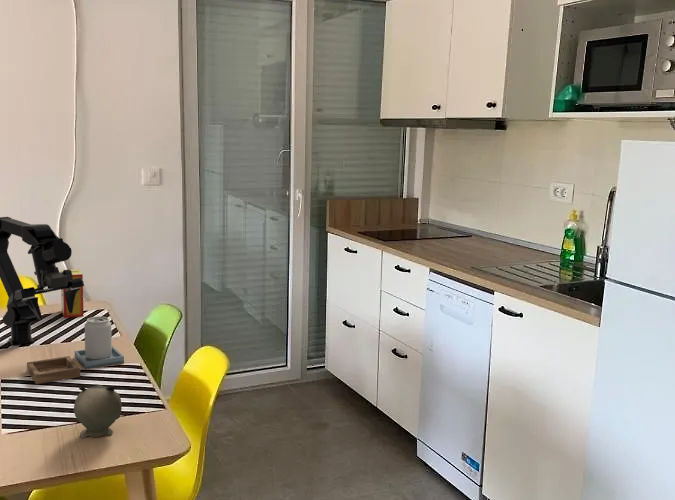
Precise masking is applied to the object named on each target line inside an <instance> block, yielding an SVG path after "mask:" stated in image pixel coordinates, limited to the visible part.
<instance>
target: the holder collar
mask: <svg viewBox="0 0 675 500" xmlns="http://www.w3.org/2000/svg"><path fill="white" fill-rule="evenodd" d="M63 367H66V368H65V369H64V368H63ZM55 368H56V369H58V368H63V369H59V370H51V371H46V372H41V373H40V372H39V371H44V370H50V369H55ZM26 371H27V373H28V374H29V376H30V377H31V378H32V380H33V381H34V383H35V385H40V384H47V383H53V382H57V381H58V380H59V381H63V379H65V380H70V379H74V378H80V377H81V368H80V366H79V365H78V364H77V363H76V362H75V361H74V359H73V358H71V356H70V355H68V356H62V357H61V356H60V357H54V358H47V359H42V360H41V359H40V360H35V361H28V362H26ZM52 381H53V382H52Z"/></svg>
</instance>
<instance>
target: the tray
mask: <svg viewBox="0 0 675 500" xmlns="http://www.w3.org/2000/svg"><path fill="white" fill-rule="evenodd" d="M74 359H75V360H76V361H77V362H78V363H79V364H80V366H82V367H83V369H84V370H89V369H95V368H100V367H107V366H113V365H119V364H124V363H125V356H124V355H123V354H122V353H121V352H120V351H119V350H118V349H116V348H115V347H114V345H112V355H111V356H110V357H109V358H106V359H100V360H94V361H92V360H89V359H88V358H87V357H86V356H85V349H79V350H74Z"/></svg>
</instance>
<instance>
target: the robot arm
mask: <svg viewBox="0 0 675 500" xmlns="http://www.w3.org/2000/svg"><path fill="white" fill-rule="evenodd" d="M12 235H13V236H17V237H19V238H21V240H22V241H23V243H24V244H26V245H28V246H30V248H29V249H28V251H27V255H31V257H32V260H33V261H32V262H33V266H34V269H35V271H34V273H33V274H34V275H35V276H36V278H37V285H36V288H35V287H34V286H32V287H31V286H30V287H27V288H25V287H24V286H23V284H22V282H21V279H20V277H19V275H18V273H17V271H16V268H15V266H14V264H13V261H12V259H11V257H10V255H9V252H8V249H9V246H10V245H9V244H10V242H9V239H10V238H11V236H12ZM71 256H72V248H71V246H70V245H69V244H68V243H67V242H65V241H64V239H63V238H62V237H60V238H59V236H58V235H57V234H56V233H55V231H54V230H53V229H52V228H51V226H50V225H49V224H47V223H38V224H37V223H36V224H35V223H34V224H33V223H32V224H31V223H27V222H24V221H21V220H18V219H14V218H12V217H9V216H0V281H1V284H2V286H3V287H4V289H5V293H6V295H7V297H8V298H7V302H6V308H7V311H6V312H5V314H4V315H3V317H2V321H3V325H6V326H8V327H10V333H11V334H10V338H8V342H9V343H10V344H11V346H18V345H25V344H26V345H27V344H33V343H35V340H34V339H33V337H32V324H31V323H35V322H38V320H39V321H43V316H42V312H41V309H40V306H39V297H38V296H36V295H41V294H44V293H45V294H46V293H50V292H54V291H59V290H60V291H61V289H66V291H65V292H64V294H65V298H66V303H67V307H68V310H69V313H70V314H71V313H72V312H73V305H74V299H75V295H76V293H77V291H78V290H80V289H81V288H79V289H78V287H82V286H83V287H84V286H85V283H84V279H83V280H82V279H81V278H77V279H73V276H72V272H71V270H70V268H69V269H62V270H63V272H61V271H59V270H60V269H59V267H58V266H56V264H57V263H62V262H66V261H68V260H69V259H70V258H71Z"/></svg>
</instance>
